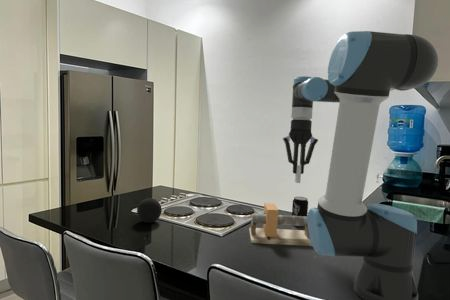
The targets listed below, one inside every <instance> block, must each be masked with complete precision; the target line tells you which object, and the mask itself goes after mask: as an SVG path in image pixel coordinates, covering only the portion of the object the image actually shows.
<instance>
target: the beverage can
mask: <svg viewBox="0 0 450 300" xmlns="http://www.w3.org/2000/svg"><path fill="white" fill-rule="evenodd" d="M291 207H292V209H291V216H306V217H308V212H309V201H308V198H307V197H306V196H294V197H293V200H292V206H291ZM296 227H298V228H305V226H296Z"/></svg>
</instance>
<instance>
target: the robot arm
mask: <svg viewBox="0 0 450 300" xmlns="http://www.w3.org/2000/svg"><path fill="white" fill-rule="evenodd" d="M438 65H439V57H438V53H437V50H436V48H435V47H434V45H433V44H432V43H431V42H430V41H429V40H428V39H426V38H424V37H422V36H420V35H416V34H408V33H406V34H405V33H404V34H403V33H391V32H383V31H382V32H381V31H369V30H365V31H363V30H361V31H349V32H346V33H345V34H343V35H342V36H341V37H340V38H339V40H338V41H337V42H336V44H335V45H334V48H333V50H332V52H331V55H330V58H329V62H328V66H327V79H324V78H322V77H320V76H314V77H313V76H306V75H305V76H296V77H295V78H294V79H293V84H292V101H291V115H290V116H291V117H290V118H291V120H290V131H289V133H288V135H287V136H285V137H282V140H283V142H284V145H285V150H286V155H287V161H288V163H289V164H292V173H293V174H294V175H295V176H294V183H296V184H301V177H302V176H301V175H303V174H304V171H305V165H309V164H310V162H311V158H312V156H313V152H314V149H315V147H316V144H317V143H318V142H319V139H317V138H315V137H314V136H313V134H312V125H313V124H312V123H313V121H312V120H311V119H313V107H314V102H319V103H321V102H322V103H323V102H324V103H339V104H338V105H339V106H338V108H337V109H338V111H337V118H336V125H335V130H334V137H333V143H332V144H333V145H332V150H331V157H330V162H329V163H330V164H329V169H328V178H327V183H326V190H325V194H324V195H322V196H320V197H319V199H318V202H317V207H312V208H309V209H308V214H307V217H308V218H307V223H308V232H309V237H310V241H311V244H312V246H311V247H312V248H313V249H314V251H315V252H316V253H317V254H319V255H321V256H328V257H329V256H330V257H333V258H335V257H360V258H361V257H362V262H361V265H360V266H359V267H358V271H357V272H356V275H355V277H354V279H353V291H354V293H355V292H356V293H355V294H356V295H357V296H359V298H361V299H362V300H419V292H418V288H417V284H416V281H415V277H414V276H415V275H414V273H413V272H414V271H413V270H414V261H415V253H416V252H415V250H416V243H417V242H416V240H417V234H418V219H417V217H416V216H415V215H414V214H413V213H411V211H410V212H409V211H407V210H405V209H402V208H398V207H395V206H391V205H386V204H383V203H382V204H381V203H375V202H373V203H370V202H369V203H368V204H367V206H366V205H365V204H364V202H363V197H364V192H365V187H366V181H367V177H368V170H369V164H370V159H371V155H372V150H373V149H372V148H373V143H374V138H375V132H376V126H377V121H378V115H379V109H380V106H381V103H383V102H384V101H386V100H388V99H389V98H390V93H391V91H394V90H396V91H401V92H402V91H403V92H404V91H409V90H413V89H416V88H419V87H422V86H423V85H425V84H427V83H428V82H429V81H430V80H431V79H433V77H434V75H435V74H436V72H437V68H438ZM290 141H292V143H293V154H292V150H291V149H292V148H291V145H290V143H291V142H290ZM308 142H310V144H309V146H308V149H307V153H306V147H307V144H308ZM299 147H300V154H299ZM292 155H293V156H292ZM299 155H300V156H299ZM298 159H299V161H298ZM298 162H299V164H298Z"/></svg>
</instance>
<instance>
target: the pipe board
mask: <svg viewBox="0 0 450 300" xmlns="http://www.w3.org/2000/svg"><path fill="white" fill-rule="evenodd" d="M251 216H252V218H251V221H250V227H249V228H248V232H249V236H250V237H249V238H250V242H251V244H263V245H265V244H266V245H281V246H283V245H286V246H302V247H304V246H305V247H313V246H312V244H311V241H310V237H309V232H308V223H307V218H308V216H307V217H306V216H292V215H283V214H278V225H277V226H280V225H281V226H294V227H297V226H305V227H304V229H303V230H301V229H285V228H284V229H283V228H277V237H267V236H266V235H265V232H264V229H263V227H257V225H259V224H260V225H263V224H266V214H264V213H252V215H251Z"/></svg>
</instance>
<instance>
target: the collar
mask: <svg viewBox="0 0 450 300" xmlns="http://www.w3.org/2000/svg"><path fill="white" fill-rule="evenodd" d="M263 205H264V206H263V214H266V224H262V228H263V229H264V232H265V235H266V236H267V237H277V229H278V226H279V225H278V215H279V209H278V207H277V205H276V204H275V203H270V202H268V203H266V202H265V203H264V204H263Z"/></svg>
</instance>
